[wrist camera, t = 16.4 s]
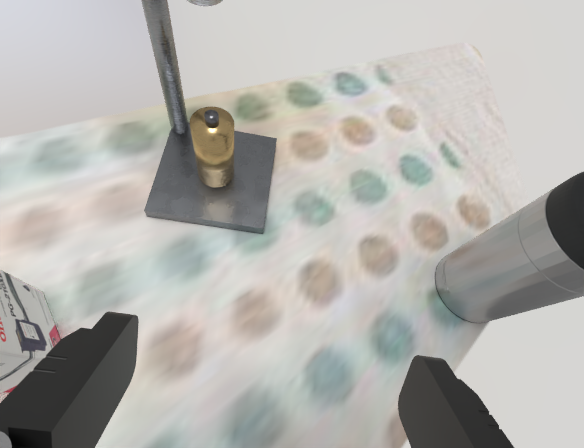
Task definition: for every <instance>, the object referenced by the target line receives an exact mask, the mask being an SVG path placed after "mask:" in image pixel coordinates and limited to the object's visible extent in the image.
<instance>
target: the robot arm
mask: <svg viewBox="0 0 584 448" xmlns="http://www.w3.org/2000/svg"><path fill="white" fill-rule="evenodd" d="M435 281H436V286H437V290H438V292H439V295H440V297H441V299H442V300H443V302H444V303H445V305H446V306H447V307H448V308H449V309H450V310H451V311H452V312H453V313H455V314H456V315H457V316H459V317H461V318H462V319H464V320H467V321H470V322H476V323H482V322H488V321H492V320H495V319H499V318H503V317H506V316H511V315H515V314H518V313H522V312H526V311H529V310H533V309H537V308H541V307H544V306H548V305H552V304H556V303H559V302H563V301H566V300H571V299H574V298H578V297H582V296H584V172H582V173H579V174H577V175H575V176H573V177H572V178H570V179H568V180H567V181H565V182H563V183H562V184H560V185H559V186H557V187H555V188H554V189H552V190H551V191H549V192H548V193H546V194H544V195H543V196H541V197H539V198H538V199H536V200H535V201H533V202H531V203H530V204H528V205H527V206H525V207H524V208H522V209H520V210H519V211H517V212H516V213H514V214H512V215H511V216H509V217H508V218H506V219H504V220H503V221H501V222H500V223H498V224H496V225H495V226H493V227H492V228H490V229H488V230H487V231H485V232H484V233H482V234H480V235H479V236H477V237H476V238H474V239H472V240H471V241H469V242H468V243H466V244H464V245H463V246H461V247H460V248H458V249H456V250H455V251H453V252H452V253H450V254H449V255H447V256H445V257H444V258H443V259H442V260H441V261H440V263H439V264H438V266H437V269H436V274H435ZM137 338H138V317H137V316H136V315H130V314H123V313H115V312H107V313H105V314H104V315H103V317H102V318H101V319H100V320H99V321H98V322H97V324H96V325H95V326H94V327H93V328H92V329H86V328H80V329H78V330H77V331H75V332H73V333H71V334H70V335H68V336H66V337H64V338H63V339H61V340H60V341H59V342H58V343H57V344H56V345H55V346H54V347H53V348H52V349H51V350H50V351H49V353H48V354H47V355H46V357H45V358H43V359H42V360H41V361H40V362H39V363H38V364H37V365H36V366H35V367H34V370H33V371H32V372H31V371H30V372H29V374H28V375H27V376H26V377H25V378H24V379H23V380H22V381H21V382H20V383H19V384H18V385H17V386H16V387H15V388H14V389H13V390H12V391H11V392H10V393H9V395H8V396H7V397H6V398H5V399H4V400H3V401H2V402H1V403H0V448H95V446H96V444H97V443H98V441H99V439H100V437H101V435H102V433H103V432H104V430H105V428H106V426H107V424H108V422H109V421H110V419H111V417H112V415H113V413H114V412H115V410H116V408H117V406H118V404H119V402H120V401H121V399H122V397H123V395H124V393H125V391H126V390H127V388H128V386H129V384H130V382H131V379H132V376H133V373H134V370H135V365H136V355H137ZM398 410H399V416H400V419H401V422H402V425H403V427H404V430H405V432H406V435H407V437H408V440H409V442H410V445H411V448H514V447H513V445H512V444H511V443H510V441H509V440H508V439H507V437H506V435H505V434H504V433H503V431H502V430H501V429H499V425H498V424H497V422H496V421H495V419H494V418H493V417H492V415H489V411H488V409H487V408H486V406H485V405H484V404H483V402H482V401H481V399H480V398H479V396H478V395H477V394H476V393H475V392H474V391H473V390H472V389H470V388H469V387H468V386H467V385H466V384H465V383H464V382H463V381H462V380H460V379H457V378H456V376H455V375H454V373H453V371H452V370H451V368H450V367H449V365H448V364H447V362H446V361H445V360H443V359H441V358H433V357H426V356H419V355H417V356H415V357H414V358H413V360H412V362H411V365H410V368H409V370H408V373H407V376H406V379H405V381H404V384H403V387H402V390H401V392H400V395H399V401H398Z"/></svg>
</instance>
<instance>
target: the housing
mask: <svg viewBox="0 0 584 448" xmlns="http://www.w3.org/2000/svg"><path fill="white" fill-rule="evenodd" d="M190 129H191V135H192V140H193V146H194V152H195V158H196V164H197V170H198V176H199V178H200V180H201V181H202V182H203V183H204V184H206V185H207V186H210V187H223V186H225V185H227V184H228V183H230V182H231V181H232V179H233V177H234V120H233V118H232V116H231V115H230V114H229V113H228V112H227V111H225V110H223V109H221V108H218V107H205V108H201V109H199V110H197V111H196V112H195V113H194V114H193V115H192V116H191V119H190Z"/></svg>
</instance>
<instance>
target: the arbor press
mask: <svg viewBox="0 0 584 448" xmlns="http://www.w3.org/2000/svg"><path fill="white" fill-rule="evenodd" d="M187 1H189V2H190V3H193V4H196V5H200V6H212V5H216V4H218V3H220V2H221V1H222V0H187ZM142 4H143V9H144V13H145V17H146V21H147V26H148V30H149V35H150V39H151V43H152V47H153V52H154V56H155V60H156V64H157V68H158V73H159V77H160V82H161V86H162V90H163V94H164V99H165V103H166V107H167V111H168V116H169V120H170V124H171V131H170V134H169V137H168V140H167V143H166V146H165V149H164V152H163V155H162V158H161V162H160V165H159V168H158V171H157V174H156V177H155V180H154V183H153V186H152V189H151V192H150V195H149V198H148V201H147V204H146V207H145V210H144V211H145V213H146V215H147V216H148V217H155V218H162V219H168V220H175V221H181V222H188V223H195V224H201V225H208V226H215V227H221V228H228V229H235V230H241V231H248V232H254V233H261V234H263V229H264V222H265V215H266V209H267V202H268V195H269V188H270V181H271V174H272V167H273V161H274V154H275V147H276V140H277V138H271V137H266V136H260V135H254V134H249V133H243V132H238V131H234V177H233V179H232V181H231V182H230V183H228V184H227V185H225V186H223V187H210V186H207V185H206V184H204V183H203V182H202V181H201V180H200V178H199V176H198V170H197V164H196V158H195V152H194V146H193V140H192V135H191V129H190V123H188V121H187V115H186V109H185V103H184V97H183V91H182V86H181V80H180V74H179V68H178V61H177V56H176V50H175V44H174V38H173V32H172V26H171V20H170V14H169V8H168V2H167V0H142Z"/></svg>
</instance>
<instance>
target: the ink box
mask: <svg viewBox="0 0 584 448" xmlns="http://www.w3.org/2000/svg"><path fill="white" fill-rule="evenodd" d="M59 341H60V337H59V334H58V331H57V329H56V326H55V323H54V320H53V318H52V315H51V313H50V310H49V308H48V305H47V302H46V300H45V297H44V294H43V292H42V291H40V290H38V289H36V288H34V287H32V286H31V285H29V284H27V283H25V282H23V281H21V280H19V279H17V278H15V277H13V276H11V275H9V274H8V273H5V272H4V271H2V270H0V393H1V392H11V391H12V390H13V389H14V388H15V387H16V386H17V385H18V384H19V383H20V382H21V381H22V380H23V379H24V378H25V377H26V376H27V375H28V374H29V372H30V371H31V372H32V371H33V370H34V367H35V366H36V365H37V364H38V363H39V362H40V361H41V360H42V359H43V358H45V357H46V355H47V354H48V353H49V351H50V350H51V349H52V348H53V347H54V346H55V345H56V344H57V343H58V342H59Z"/></svg>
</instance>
